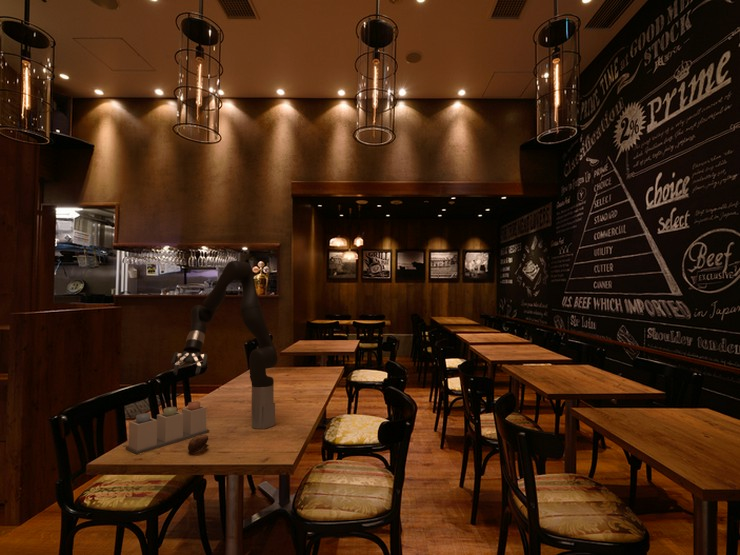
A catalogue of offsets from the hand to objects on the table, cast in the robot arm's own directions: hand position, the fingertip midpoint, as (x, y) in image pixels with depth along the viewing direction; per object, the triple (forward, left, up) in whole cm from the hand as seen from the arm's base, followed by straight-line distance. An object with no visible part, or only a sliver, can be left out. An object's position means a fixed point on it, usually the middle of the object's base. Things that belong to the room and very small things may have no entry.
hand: (185, 374), depth 171 cm
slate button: (-11, +22, -13) cm, 28 cm away
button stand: (-11, +12, -22) cm, 28 cm away
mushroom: (-31, +12, -22) cm, 40 cm away
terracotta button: (-11, +2, -13) cm, 17 cm away
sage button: (-11, +12, -13) cm, 21 cm away
